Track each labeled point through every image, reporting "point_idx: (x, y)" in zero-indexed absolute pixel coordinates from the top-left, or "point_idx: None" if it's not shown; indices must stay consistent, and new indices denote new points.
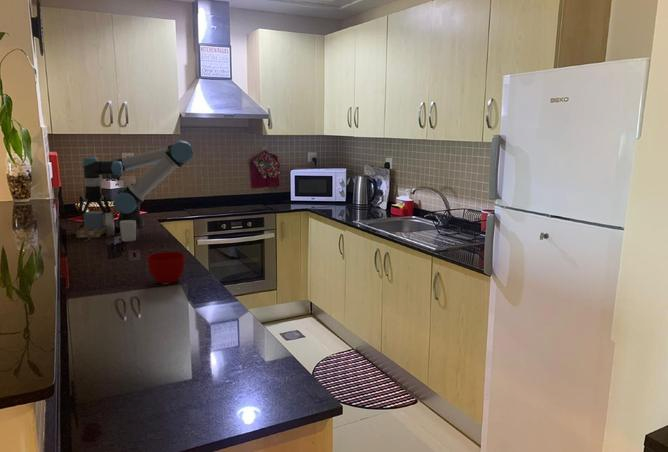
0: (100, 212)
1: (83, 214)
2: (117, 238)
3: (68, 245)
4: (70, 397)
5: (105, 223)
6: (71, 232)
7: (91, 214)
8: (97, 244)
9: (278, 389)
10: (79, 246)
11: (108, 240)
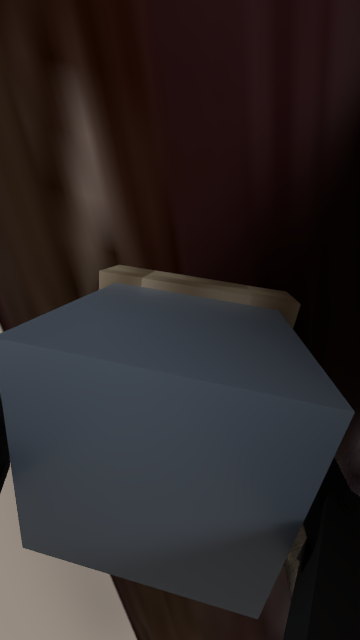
0: (245, 520)
1: (29, 538)
2: None
3: (124, 593)
4: None
5: (286, 573)
6: (26, 310)
7: (128, 565)
8: (233, 623)
9: None
10: (168, 621)
11: (279, 585)
